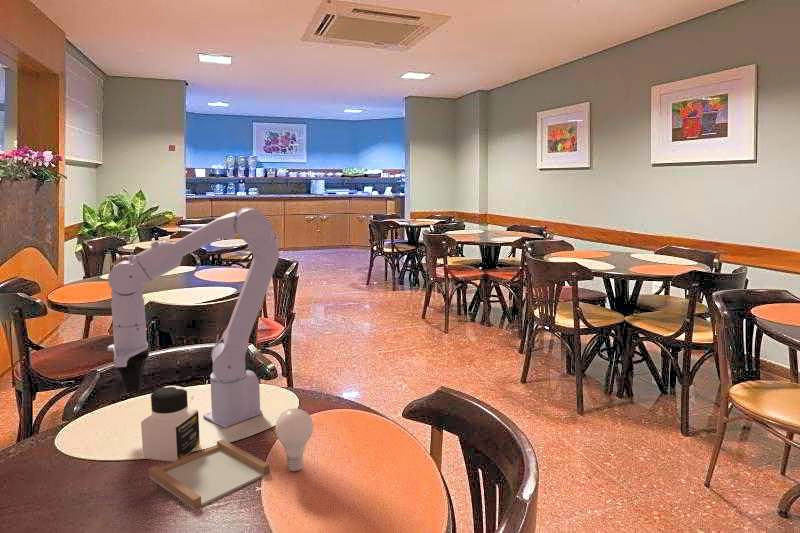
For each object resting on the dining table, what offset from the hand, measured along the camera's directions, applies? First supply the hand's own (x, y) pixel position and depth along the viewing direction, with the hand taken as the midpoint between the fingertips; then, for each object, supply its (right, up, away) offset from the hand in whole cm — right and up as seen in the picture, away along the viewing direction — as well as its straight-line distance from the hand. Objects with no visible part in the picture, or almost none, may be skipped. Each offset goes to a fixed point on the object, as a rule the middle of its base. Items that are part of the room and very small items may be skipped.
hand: (133, 390), depth 110 cm
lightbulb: (+34, -11, -13) cm, 38 cm away
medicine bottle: (+11, -10, -7) cm, 16 cm away
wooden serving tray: (+20, -11, -15) cm, 28 cm away
